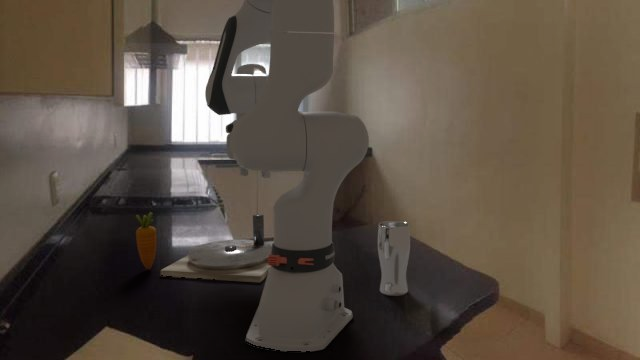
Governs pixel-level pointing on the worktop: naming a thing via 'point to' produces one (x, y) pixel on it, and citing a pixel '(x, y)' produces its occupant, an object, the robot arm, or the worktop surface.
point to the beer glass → (393, 256)
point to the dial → (233, 251)
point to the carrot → (146, 241)
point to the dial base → (217, 272)
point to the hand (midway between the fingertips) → (254, 176)
